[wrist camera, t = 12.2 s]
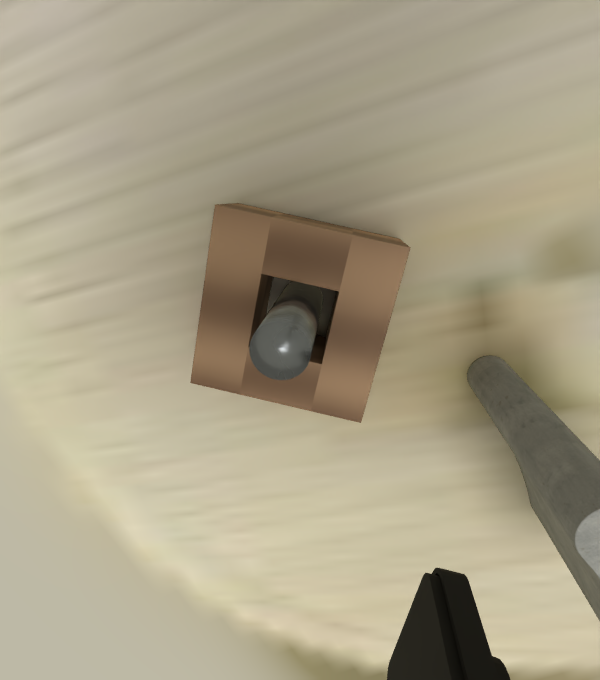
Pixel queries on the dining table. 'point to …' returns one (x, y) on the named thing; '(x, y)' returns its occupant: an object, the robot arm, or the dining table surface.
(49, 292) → the dining table surface
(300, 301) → the grey metal rod
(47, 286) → the dining table surface
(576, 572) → the hip flask
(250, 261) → the wooden square hole block
